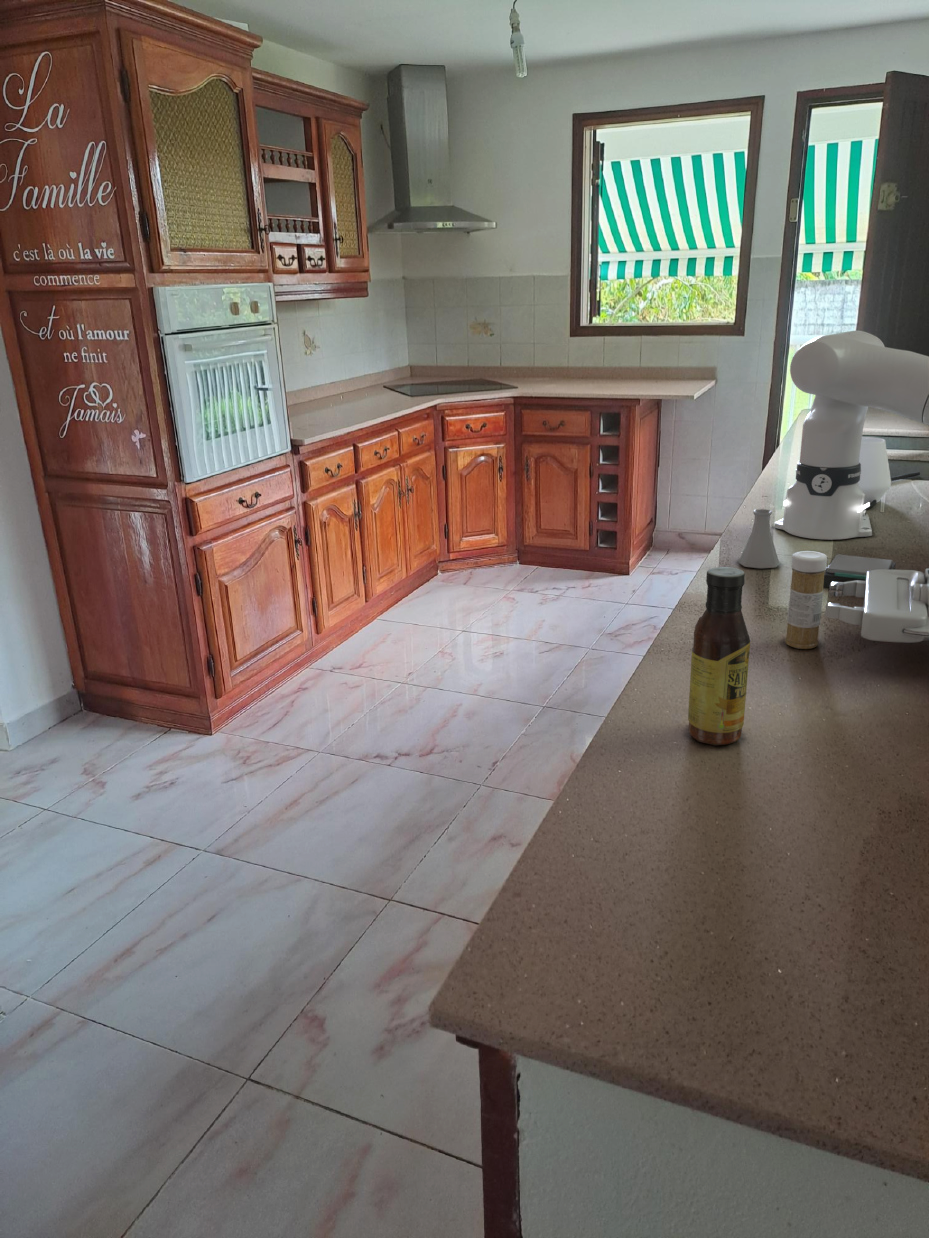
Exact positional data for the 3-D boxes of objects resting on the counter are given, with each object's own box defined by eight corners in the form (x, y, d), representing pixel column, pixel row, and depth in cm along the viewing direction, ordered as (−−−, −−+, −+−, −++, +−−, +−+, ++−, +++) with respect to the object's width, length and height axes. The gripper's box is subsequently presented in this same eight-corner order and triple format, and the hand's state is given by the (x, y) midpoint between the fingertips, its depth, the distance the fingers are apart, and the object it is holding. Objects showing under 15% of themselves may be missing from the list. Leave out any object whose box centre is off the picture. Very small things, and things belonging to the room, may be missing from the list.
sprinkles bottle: (801, 636, 129) (809, 548, 124) (825, 646, 125) (835, 555, 121) (777, 642, 127) (785, 553, 123) (801, 652, 123) (810, 561, 119)
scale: (833, 567, 158) (835, 551, 157) (894, 574, 153) (896, 557, 152) (820, 587, 149) (822, 570, 148) (884, 594, 144) (887, 577, 143)
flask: (781, 570, 158) (786, 516, 155) (739, 569, 160) (743, 515, 156) (776, 558, 165) (781, 506, 161) (736, 558, 166) (740, 506, 163)
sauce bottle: (733, 753, 98) (745, 584, 91) (679, 740, 102) (687, 577, 95) (749, 728, 103) (762, 567, 97) (697, 717, 107) (706, 560, 100)
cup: (893, 496, 206) (901, 436, 201) (884, 508, 196) (892, 446, 191) (832, 491, 213) (838, 433, 208) (820, 503, 202) (826, 442, 198)
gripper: (939, 660, 109) (820, 646, 115) (932, 606, 127) (829, 597, 132) (946, 612, 107) (825, 601, 113) (938, 564, 125) (833, 557, 130)
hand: (827, 598), depth 123 cm, fingers open, 8 cm apart
